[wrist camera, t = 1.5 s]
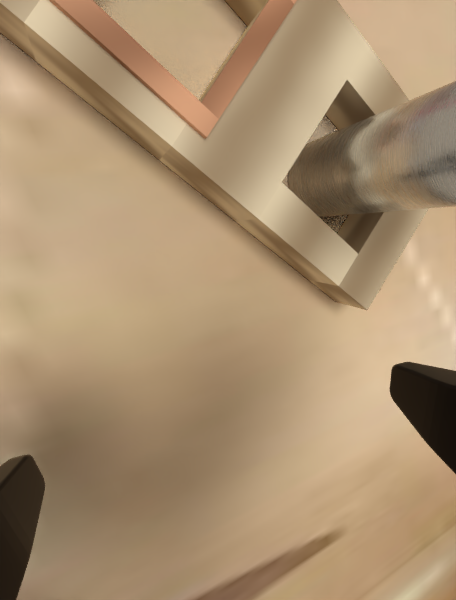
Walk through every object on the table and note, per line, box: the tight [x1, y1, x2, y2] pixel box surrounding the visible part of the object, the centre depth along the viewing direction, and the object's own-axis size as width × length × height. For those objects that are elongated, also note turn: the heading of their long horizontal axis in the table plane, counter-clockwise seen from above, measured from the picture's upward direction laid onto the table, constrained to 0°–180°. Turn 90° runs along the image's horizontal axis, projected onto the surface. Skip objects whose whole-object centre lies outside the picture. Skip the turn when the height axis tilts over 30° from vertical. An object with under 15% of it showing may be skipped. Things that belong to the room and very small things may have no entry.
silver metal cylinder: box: [288, 81, 456, 217], centre depth 16 cm, size 5×5×13 cm
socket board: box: [0, 0, 429, 310], centre depth 18 cm, size 24×11×3 cm, turn 55°
